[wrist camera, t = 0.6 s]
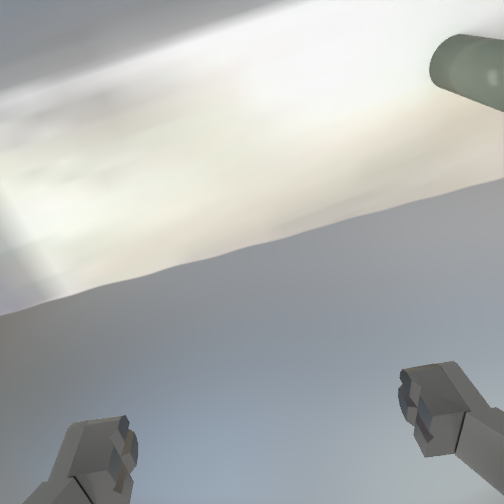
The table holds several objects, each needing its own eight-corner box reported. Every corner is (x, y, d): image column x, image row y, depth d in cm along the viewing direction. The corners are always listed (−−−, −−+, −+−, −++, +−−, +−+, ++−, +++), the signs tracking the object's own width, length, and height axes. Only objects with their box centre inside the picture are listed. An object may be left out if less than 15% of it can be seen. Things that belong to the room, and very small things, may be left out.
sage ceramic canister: (432, 38, 37) (497, 50, 29) (482, 30, 37) (562, 39, 29) (426, 92, 40) (483, 117, 31) (472, 84, 40) (542, 106, 31)
